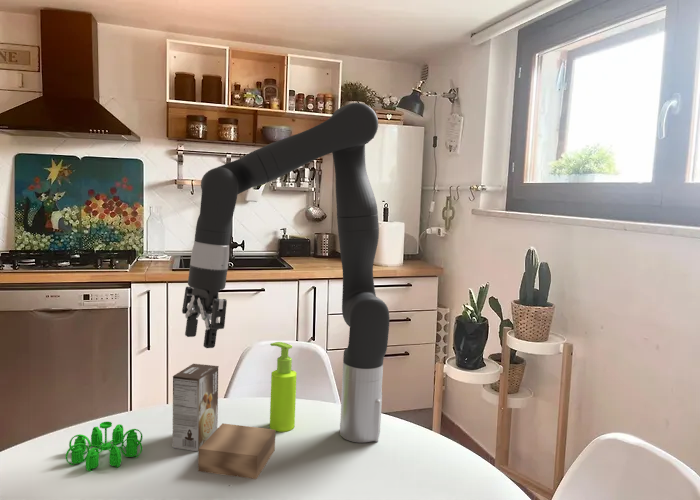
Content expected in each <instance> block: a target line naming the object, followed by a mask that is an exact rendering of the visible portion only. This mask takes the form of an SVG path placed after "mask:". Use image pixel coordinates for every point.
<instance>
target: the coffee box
mask: <svg viewBox="0 0 700 500" xmlns="http://www.w3.org/2000/svg"><path fill="white" fill-rule="evenodd" d="M218 404H219V365H209V364H200V363H192V364H190V365H188V367H185V368H184V369H182V370H180V371H178V372H177V373H176V374H174V375H173V376H172V448H173V449H179V450H186V451H193V452H199V448H200V447H201V445H202V444H203V443H204V442H205V441H206V440H207V439H208V438H209V437H210V436H211V435H212V434H213V433H214V432H215V431H216V430H217V429H218V422H219V421H218V415H219V412H218V410H219V407H218V406H219V405H218Z"/></svg>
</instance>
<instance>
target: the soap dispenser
mask: <svg viewBox="0 0 700 500" xmlns="http://www.w3.org/2000/svg"><path fill="white" fill-rule="evenodd" d="M270 346H271V347H278V348H281V349H280V350H281V351H280V356H279V357H277V359H276V361H277V362H276V369H274V370H273V371H271V377H270V379H271V381H270V405H269V406H270V407H269V408H270V409H269V429H274V430H276V431H275V432H281V433H283V432H284V433H285V432H290V431H292V430H293V429H294V428H295V425H296V424H295V423H296V401H297V400H296V398H297V395H296V393H297V371H295V370H293V369H292V367H293V366H292V363H293V358H292V357H290V356H289V350H290V349H292V348H293V345H292V344H290V343H289V344H288V343H287V342H283V341H276V342H272V343H270Z"/></svg>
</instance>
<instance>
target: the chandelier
mask: <svg viewBox="0 0 700 500" xmlns="http://www.w3.org/2000/svg"><path fill="white" fill-rule="evenodd" d="M112 426H113V422H112V421H104V422H100V423H99V427H98V426H93V428H92V432H91V435H90V439H89V438H88V436H86V435H84V434H76V435H74V436H72V437H71V439H70V440H69V444H68V446H69V448H68V449H67V450H66V452H65V453H66V454H65V461H66V462H67V463H68V464H69V465H71V466H75V465H76V464H81V463H84V462H85V468H86V471H89V472H92V471H93V469H96V468H97V467H99V464H100V459H99V457H100V454H101V452H103V451H109V455H108V456H109V461H108V463H109V465H110V466H111V467H115V468H116V469H117V468H120V466H121V463H122V455H123V456H124V457H126V458H137V457H139V456H140V455H141V454H142V452H143V444H142V441H143V437H144V436H143V433H142V432H141V430H140V429H138V428H132V429H129V430H127V431H126V432H125V433H124V426H123V425H122V424H119V423H118V424H116V425H115V426H114V428H113V430H112V432H111V436H112V437H111V440H109V442H108V440H107V439H108V438H107V437H108V436H107V435H108V429H110V428H111V427H112ZM101 429H103V430H104V442H103V432H102V430H101ZM136 431H137V432H139V434H140V439H138V433H137V432H136ZM76 437H77V438H76ZM125 437H126V438H125ZM74 438H75V439H74ZM73 439H74V443H73V445H72V442H73ZM125 442H126V444H125ZM87 443H88V445H87ZM118 444H121V445H120V446H118ZM125 445H126V446H125ZM91 447H92V448H91ZM138 447H140V450H139V453H138ZM124 449H125V450H124ZM70 452H71V458H70V459H71V460H70V461H71V462H70V461H69V459H68V456H69V453H70ZM85 455H86V456H85Z"/></svg>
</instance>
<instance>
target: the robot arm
mask: <svg viewBox="0 0 700 500" xmlns="http://www.w3.org/2000/svg"><path fill="white" fill-rule="evenodd" d="M378 128H379V119H378V116H377V113H376V111H375V110H374V109H373V108H371V107H370V106H369V105H368V104H365V103H362V102H351V103H348V104H346V105H344V106H341V107H339V108H337V110H336V109H335V111H334V112H333V113H332V115H331V116H330V117H329V118H328V119H327V120H325V121H323V122H321V123H319V124H317V125H315V126H313V127H310V128H309V129H306V130H303V131H302V132H299V133H297V134H293V135H290V136H288V137H284V138H282V139H279V140H277V141H274V142H272V143H269V144H267V145H264V146H262V147H260V148H258V149H255V150H254V151H251V152H249V153H247V154H246V155H244V156H242V157H241V158H239V159H236V160H233V161H230V162H226V163H224V164H221V165H220V166H217V167H214V168H212V169H210V170H208V171H206V172H205V174H204V175H203V176H202V178H201V181H200V189H201V196H200V197H201V198H200V208H199V215H198V218H197V221H196V226H195V232H194V233H195V234H194V241H193V246H192V249H191V255H190V263H189V270H188V280H187V285H188V286H185V291H184V296H183V303H182V309H181V312H182V314H184V315H185V316H184V317H185V319H186V325H185V333H184V335H185V337H186V338H193V337H194V338H195V337H196V336H197V332H198V331H197V330H198V323H199V317H201V320H203V321H204V324H205V330H204V339H203V347H204V348H206V349H214V348H215V346H216V340H217V333H218V330H223V329H224V328H225V323H226V315H227V314H226V313H227V306H228V305H227V304H228V302H227V298H220V296H219V292H220V291H222V290H225V288H226V286H227V285H226V283H227V282H226V281H227V277H228V276H227V274H228V270H229V261H230V260H229V259H230V242H231V236H232V226H233V225H232V224H233V222H232V221H233V217H234V212H235V209H236V204H237V199H238V195H239V194H242V193H243V192H246V191H248V190H250V189H252V188H255V187H259V186H262V185H265V184H268V183H270V182H272V181H274V180H276V179H279V178H281V177H283V176H284V175H287V174H289V173H291V172H293V171H295V170H297V169H299V168H301V167H303V166H306V165H307V164H309V163H311V162H313V161H315V160H317V159H320V158H321V157H324V156H326V155H329V154H332V158H333V164H334V173H335V174H334V176H335V177H334V178H335V202H336V221H337V223H336V224H337V233H338V242H339V252H340V260H341V267H342V268H341V269H342V297H341V298H342V299H341V301H342V302H341V312H342V313H341V314H342V317H343V320H344V322H345V323H346V325H347V326H348V327H349V331H348V333H349V334H348V335H349V336H348V344H347V347H345V349H344V350H343V357H342V358H343V360H342V361H343V362H342V379H341V381H342V382H341V397H340V399H341V403H340V418H339V419H340V422H339V436H340V437H342V438H343V439H344V440H346V441H349V442H353V443H359V444H362V443H371V442H379V438H380V433H381V424H382V406H383V405H382V404H383V391H382V388H383V374H384V373H383V372H384V371H383V370H384V359H385V358H384V357H385V355H386V353H387V350H388V342H389V334H390V333H389V332H390V331H389V330H390V312H389V308H388V305H387V304H386V303H385V302H384V301H383V300H382V299H380V298H379V297H378V296H377V294H376V289H375V282H374V281H375V280H374V263H375V257H376V255H377V254H376V253H377V248H378V244H379V236H380V235H379V234H380V228H379V225H380V224H379V211H378V204H377V201H376V198H375V194H374V189H373V188H372V185H371V183H370V180H369V176H368V172H367V166H366V145H367V144H369V142H371V141H372V140H373V139H374V137H375V136H376V134H377V132H378Z"/></svg>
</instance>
